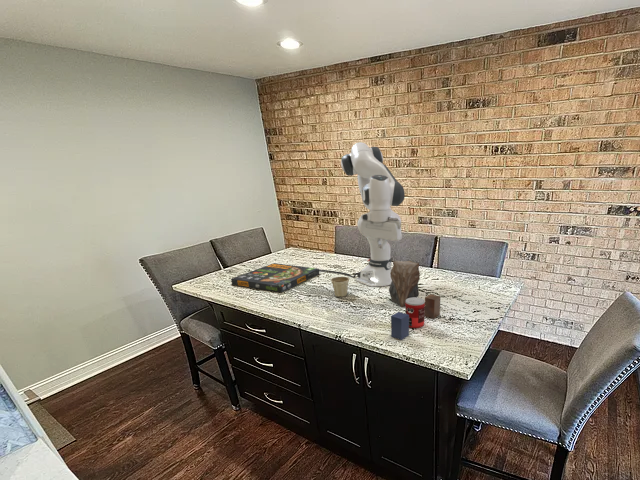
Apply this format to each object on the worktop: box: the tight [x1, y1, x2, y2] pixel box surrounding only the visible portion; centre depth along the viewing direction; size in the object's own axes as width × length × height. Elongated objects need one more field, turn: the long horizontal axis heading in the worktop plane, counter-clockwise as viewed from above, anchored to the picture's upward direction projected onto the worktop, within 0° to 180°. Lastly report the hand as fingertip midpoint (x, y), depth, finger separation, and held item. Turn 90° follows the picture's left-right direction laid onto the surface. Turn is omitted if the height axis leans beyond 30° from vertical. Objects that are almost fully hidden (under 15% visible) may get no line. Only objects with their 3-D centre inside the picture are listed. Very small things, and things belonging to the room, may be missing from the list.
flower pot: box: [330, 276, 350, 298], centre depth 174 cm, size 9×9×9 cm
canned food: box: [404, 297, 425, 329], centre depth 141 cm, size 8×8×11 cm
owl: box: [388, 260, 421, 308], centre depth 164 cm, size 13×13×20 cm
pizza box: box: [230, 262, 320, 293], centre depth 200 cm, size 35×35×4 cm
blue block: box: [390, 311, 410, 341], centre depth 132 cm, size 5×5×9 cm
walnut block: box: [424, 293, 441, 320], centre depth 150 cm, size 5×5×9 cm
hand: (381, 248), depth 147 cm, fingers closed
